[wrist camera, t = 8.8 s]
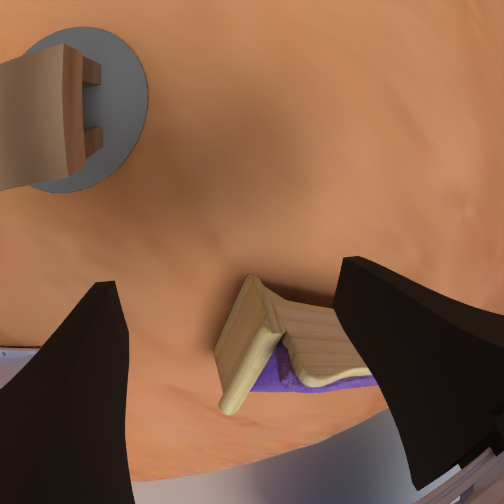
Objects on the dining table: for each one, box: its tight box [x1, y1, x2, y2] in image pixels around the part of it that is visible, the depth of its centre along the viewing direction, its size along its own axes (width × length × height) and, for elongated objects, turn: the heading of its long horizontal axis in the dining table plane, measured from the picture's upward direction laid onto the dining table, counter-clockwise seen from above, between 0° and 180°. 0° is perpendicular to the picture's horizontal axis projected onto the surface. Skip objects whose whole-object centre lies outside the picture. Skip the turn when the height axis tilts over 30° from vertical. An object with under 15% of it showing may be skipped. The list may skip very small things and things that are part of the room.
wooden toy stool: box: [0, 44, 103, 191], centre depth 10 cm, size 5×5×6 cm
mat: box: [23, 27, 148, 193], centre depth 13 cm, size 10×10×1 cm
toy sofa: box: [214, 275, 378, 415], centre depth 23 cm, size 21×9×10 cm, turn 68°
